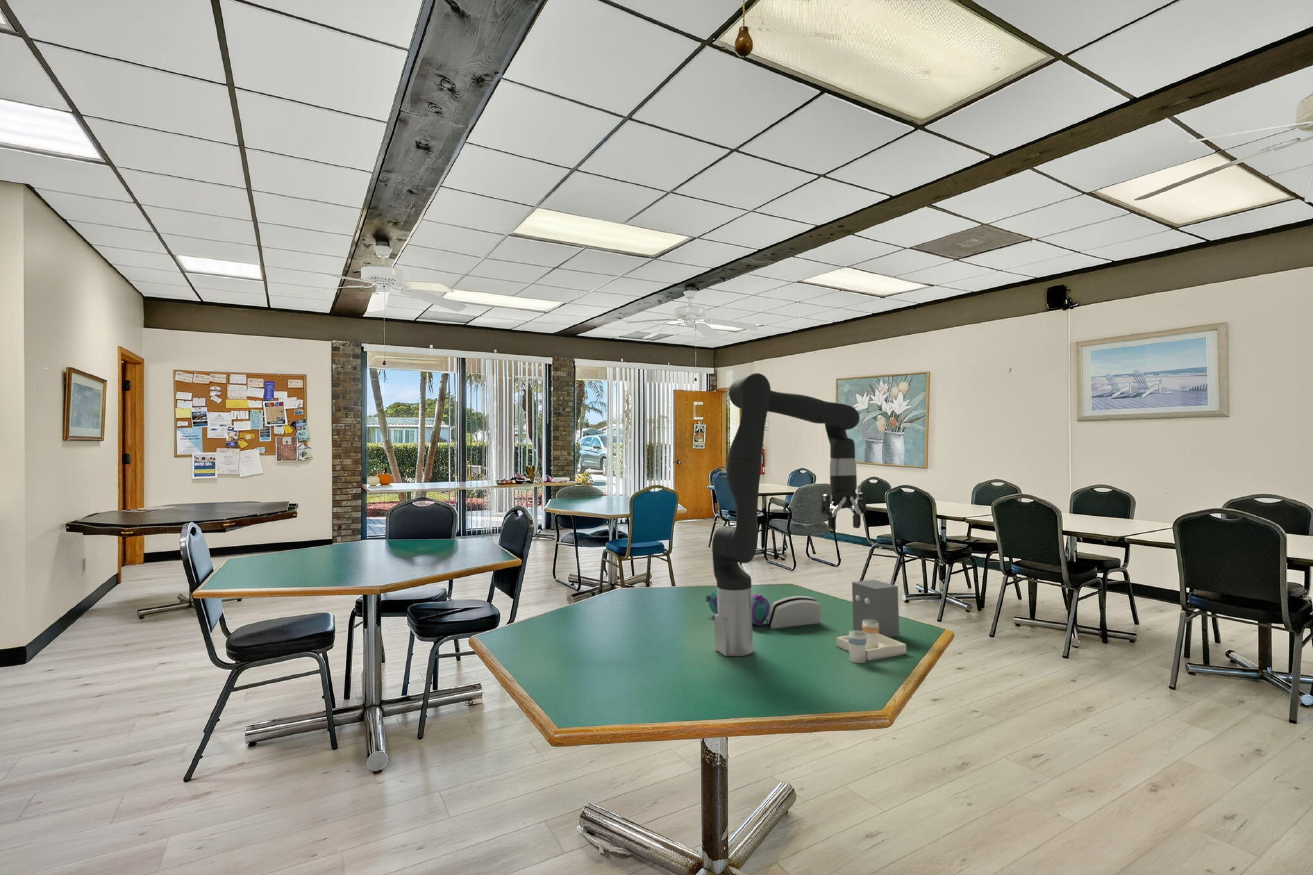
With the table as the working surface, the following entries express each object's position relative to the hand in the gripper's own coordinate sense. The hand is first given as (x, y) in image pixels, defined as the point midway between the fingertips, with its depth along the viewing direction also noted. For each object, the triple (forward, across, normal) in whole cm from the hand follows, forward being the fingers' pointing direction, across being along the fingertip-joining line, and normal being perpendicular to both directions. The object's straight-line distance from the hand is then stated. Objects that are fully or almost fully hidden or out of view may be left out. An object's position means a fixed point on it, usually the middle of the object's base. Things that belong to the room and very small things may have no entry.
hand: (844, 528), depth 180 cm
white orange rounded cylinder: (+30, +5, +16) cm, 34 cm away
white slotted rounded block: (+30, +10, -13) cm, 34 cm away
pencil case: (+30, +22, -25) cm, 45 cm away
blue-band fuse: (+30, +13, +21) cm, 39 cm away
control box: (+30, -7, +4) cm, 31 cm away
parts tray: (+30, +5, +16) cm, 34 cm away
